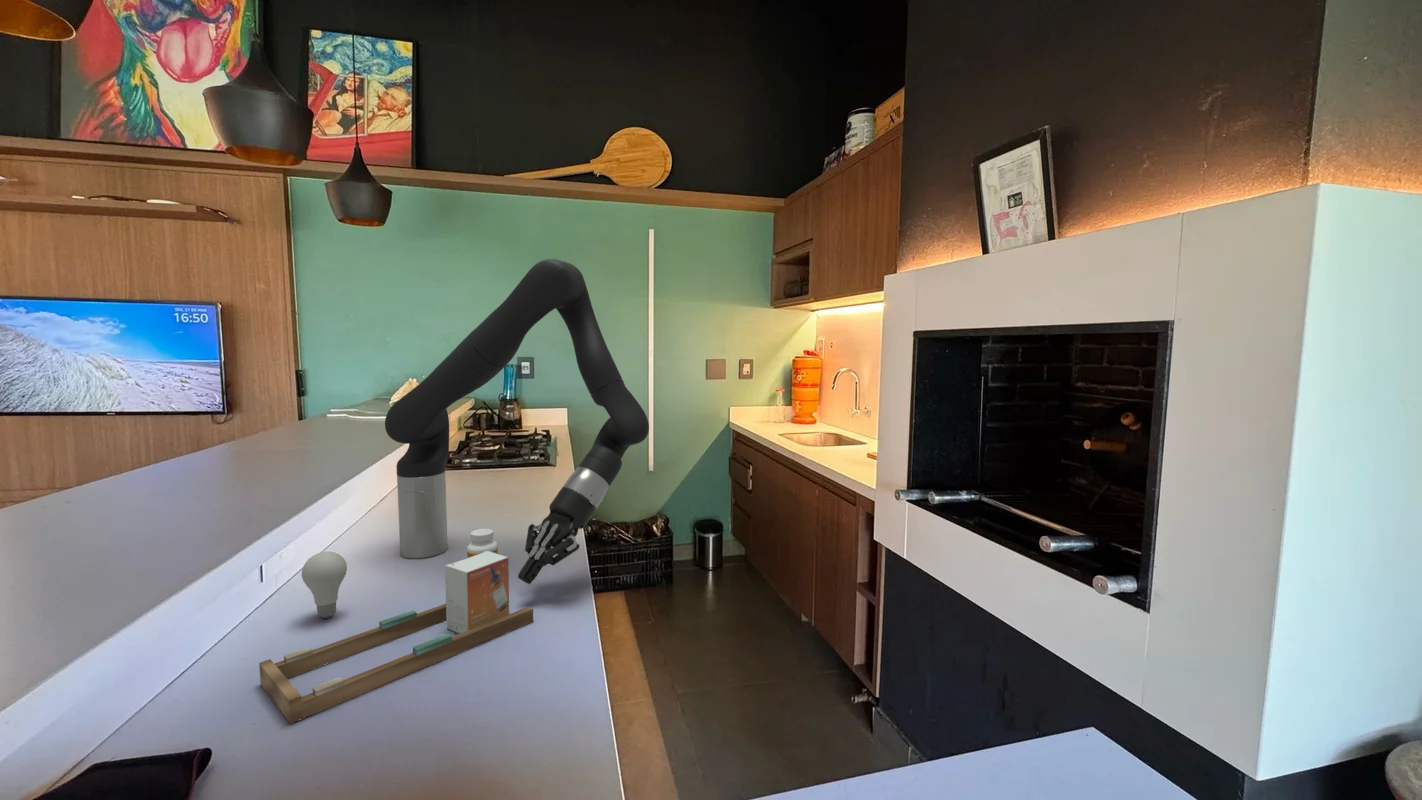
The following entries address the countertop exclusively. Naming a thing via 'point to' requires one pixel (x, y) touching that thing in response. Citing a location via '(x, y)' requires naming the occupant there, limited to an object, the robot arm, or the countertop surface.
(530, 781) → the countertop surface
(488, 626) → the u-shaped wooden frame
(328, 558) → the lightbulb
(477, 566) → the small box
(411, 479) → the robot arm
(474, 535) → the supplement bottle
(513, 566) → the countertop surface
